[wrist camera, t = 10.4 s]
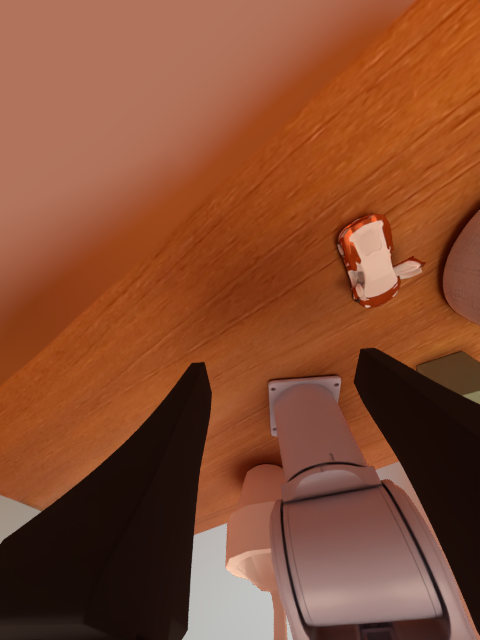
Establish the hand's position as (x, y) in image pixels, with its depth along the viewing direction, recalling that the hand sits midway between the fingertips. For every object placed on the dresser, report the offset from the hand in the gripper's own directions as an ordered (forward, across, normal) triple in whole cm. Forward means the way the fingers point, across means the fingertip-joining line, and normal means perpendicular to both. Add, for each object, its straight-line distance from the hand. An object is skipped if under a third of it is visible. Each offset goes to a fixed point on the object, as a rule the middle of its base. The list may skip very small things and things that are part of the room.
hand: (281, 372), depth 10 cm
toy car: (+11, -9, -2) cm, 14 cm away
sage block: (+10, -19, +12) cm, 24 cm away
